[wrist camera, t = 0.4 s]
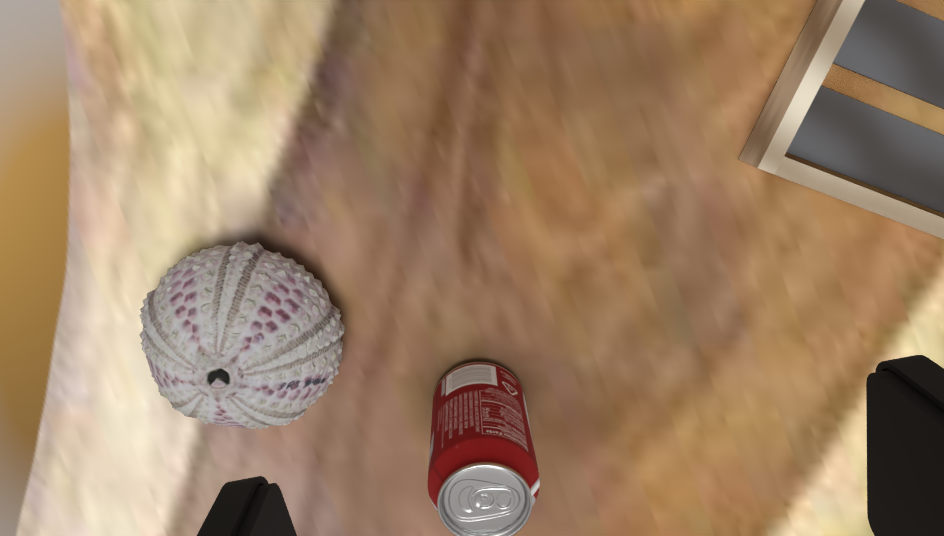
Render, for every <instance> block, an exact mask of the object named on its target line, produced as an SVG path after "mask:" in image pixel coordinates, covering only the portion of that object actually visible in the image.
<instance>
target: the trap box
mask: <svg viewBox="0 0 944 536" xmlns="http://www.w3.org/2000/svg"><path fill="white" fill-rule="evenodd" d="M832 63H834V64H836V65H838V66H841V67H843V68H846V69H848V70H850V71H853V72H855V73H858V74H860V75H863V76H865V77H867V78H870V79H872V80H875V81H877V82H880V83H882V84H884V85H887V86H889V87H892V88H894V89H897V90H899V91H901V92H904V93H906V94H909V95H911V96H914V97H916V98H918V99H921V100H923V101H926V102H928V103H930V104H933V105H935V106H938V107H940V108H943V109H944V21H942V20H939V19H937V18H935V17H932V16H930V15H928V14H925V13H923V12H921V11H919V10H916V9H914V8H912V7H909V6H907V5H905V4H902V3H900V2H898V1H895V0H817V2H816V4H815V6H814V8H813V10H812V12H811V14H810V16H809V18H808V20H807V22H806V24H805V26H804V28H803V30H802V32H801V34H800V36H799V38H798V40H797V42H796V44H795V46H794V48H793V50H792V52H791V54H790V56H789V58H788V60H787V62H786V64H785V66H784V68H783V71H782V73H781V75H780V77H779V79H778V81H777V83H776V85H775V87H774V89H773V91H772V93H771V95H770V97H769V99H768V101H767V103H766V105H765V107H764V109H763V111H762V113H761V115H760V117H759V119H758V121H757V123H756V125H755V127H754V129H753V131H752V133H751V135H750V137H749V139H748V141H747V143H746V145H745V147H744V149H743V151H742V153H741V155H740V157H739V160H741V161H743V162H746V163H748V164H750V165H752V166H754V167H756V168H759V169H761V170H764V171H767V172H769V173H772V174H775V175H777V176H780V177H782V178H785V179H788V180H790V181H793V182H796V183H798V184H801V185H803V186H806V187H809V188H811V189H814V190H816V191H819V192H822V193H824V194H827V195H830V196H832V197H835V198H837V199H840V200H843V201H845V202H848V203H850V204H853V205H856V206H858V207H861V208H864V209H866V210H869V211H871V212H874V213H877V214H879V215H882V216H885V217H887V218H890V219H892V220H895V221H898V222H900V223H903V224H905V225H908V226H911V227H913V228H916V229H919V230H921V231H924V232H926V233H929V234H932V235H934V236H937V237H940V238H942V239H944V218H942V217H939V216H937V215H934V214H932V213H929V212H926V211H924V210H921V209H919V208H916V207H913V206H911V205H908V204H906V203H903V202H901V201H898V200H895V199H893V198H890V197H888V196H885V195H882V194H880V193H877V192H875V191H872V190H870V189H867V188H864V187H862V186H859V185H857V184H854V183H851V182H849V181H846V180H844V179H841V178H839V177H836V176H833V175H831V174H828V173H826V172H823V171H820V170H818V169H815V168H813V167H810V166H807V165H805V164H802V163H800V162H797V161H795V160H792V159H789V158H787V157H784V155H785V153H786V152H787V153H790V154H792V155H795V156H797V157H800V158H802V159H805V160H808V161H810V162H813V163H815V164H818V165H821V166H823V167H826V168H828V169H831V170H833V171H836V172H839V173H841V174H844V175H846V176H849V177H851V178H854V179H857V180H859V181H862V182H864V183H867V184H869V185H872V186H875V187H877V188H880V189H882V190H885V191H888V192H890V193H893V194H895V195H898V196H900V197H903V198H906V199H908V200H911V201H913V202H916V203H918V204H921V205H924V206H926V207H929V208H931V209H934V210H936V211H939V212H942V213H944V135H941V134H939V133H936V132H934V131H931V130H929V129H926V128H924V127H922V126H919V125H917V124H914V123H912V122H909V121H907V120H904V119H902V118H899V117H897V116H894V115H892V114H890V113H887V112H885V111H882V110H880V109H877V108H875V107H872V106H870V105H867V104H865V103H862V102H860V101H858V100H855V99H853V98H850V97H848V96H845V95H843V94H840V93H838V92H835V91H833V90H830V89H828V88H826V87H823V86H821V84H822V82H823V80H824V78H825V76H826V74H827V72H828V71H829V69H830V67H831V65H832Z"/></svg>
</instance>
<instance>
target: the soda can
mask: <svg viewBox="0 0 944 536" xmlns="http://www.w3.org/2000/svg"><path fill="white" fill-rule="evenodd" d="M538 491H539V473H538V467H537V462H536V456H535V451H534V446H533V440H532V435H531V429H530V424H529V418H528V413H527V407H526V402H525V396H524V392H523V389H522V387H521V385H520V383H519V381H518V380H517V379H516V377H515V376H514V375H513V374H512V373H510V372H509V371H508V370H506V369H505V368H503V367H501V366H499V365H496V364H493V363H488V362H471V363H467V364H463V365H461V366H458V367H456V368H454V369H453V370H451V371H450V372H448V373H447V374H446V375H445V376H444V377H443V378H442V379H441V381H440V382H439V384H438V386H437V388H436V390H435V393H434V398H433V410H432V426H431V441H430V456H429V471H428V492H429V496H430V499H431V501H432V503H433V505H434V507H435V508H436V510H437V511H438V513H439V516H440V519H441V521H442V522H443V524H444V525H445V527H446V528H447V529H448V530H449V531H450V532H452V533H453V534H454V535H456V536H512V535H514V534H515V533H516V532H518V531H519V530H520V529H521V528H522V527H523V526H524V525H525V523H526V522H527V520H528V518H529V516H530V513H531V510H532V506H533V504H534V502H535V500H536V498H537V495H538Z"/></svg>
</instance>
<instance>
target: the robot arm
mask: <svg viewBox="0 0 944 536" xmlns="http://www.w3.org/2000/svg"><path fill="white" fill-rule="evenodd" d="M866 387H867V510H868V520H869V524H870V527H871V529H872V531H873V533H874V535H875V536H944V369H943V368H942V367H940V366H939V365H938V364H936V363H935V362H933V361H932V360H930V359H929V358H927V357H925V356H923V355H915V356H909V357H904V358H899V359H893V360H888V361H882V362H881V363H879V364H878V366H877V368H876V373H871V374H870V375H869V376H868V378H867V384H866ZM197 536H297V535H296V532H295V529H294V527H293V524H292V521H291V518H290V515H289V512H288V510H287V507H286V504H285V501H284V498H283V495H282V493H281V490H280V488H279V486H278V485H277V484H276V483H272V484H268V481H267V480H266V479H265V478H264V477H262V476H259V477H253V478H248V479H242V480H237V481H232V482H228V483H225V485H224V486H223V487H222V489H221V491H220V493H219V494H218V496H217V498H216V500H215V502H214V504H213V506H212V508H211V510H210V512H209V513H208V515H207V517H206V519H205V521H204V523H203V525H202V527H201V529H200V531H199V532H198V534H197Z"/></svg>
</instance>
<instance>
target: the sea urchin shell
mask: <svg viewBox="0 0 944 536" xmlns="http://www.w3.org/2000/svg"><path fill="white" fill-rule="evenodd" d="M143 303H144V307H142V308H141V309H140V310H141V312H142V314H140V317H141V319H142V321H141V322H142V324H143V327H144V328H143V331H142V332H141V334H140V337H141V338H142V340H143V341H142V343H141V344H142V345H143V347H142V350H143V351H144V352H145V353H146V358H147V360H148V363H149V367H150V370H151V372H152V377H153V378H154V379H155V380H154V381H155V382H156V383H157V384H158V386H159V392H160V395H162V396H164V397H165V398H167V399H168V400H169V401H170V403H171V404H172V408H174V409H175V410H178V411H180V412H182V413H183V414H184V415H185V416H188V417H193V418H198V419H199V420H200V421H201V422H202V423H203V424H208V423H214V424H216V425H221V426H222V425H223V426H231V427H242V428H250V429H255V428H258V429H260V430H261V429H262V428H268V427H269V426H270V425H271V426H277V425H285V424H287V425H289V423H290V422H291V421H292V420H298V419H299V417H300V416H303V415H304V413H305V410H306V408H308V407H309V405H312V404H314V403H315V402H316V401H317V398H319V396H322V395H323V393H325V392H326V391H327V388H328V384H333V379H334V376H335V375H337V374H338V373H339V372H338V366H339V365H340V364H339V362H340V361H341V360H342V355H341V352H342V347H343V342H342V341H340V339H341V337H342V335H343V333H344V330H345V326H344V325H343V324H342V323H343V322H342V321H341V320H340V316H341V315H340V314H339V313H340V309H338V308H336V307H334V306H333V305H332V304H331V302H330V300H329V296H328V293H327V290H325V289H324V288H323V287H322V283H321V281H319V280H317V279H315V278H314V277H313V274H311V273H309V272H307V271H305V268H304V265H298V264H296V262H295V261H294V260H293V259H287V258H285V257H283V256H282V255H281V254H280V252H279V253H272V252H270V251H267V250H265V249H264V248H263V247H262V245H260V244H259V243H256V244H253V245H248V244H246V243H245V242H243V241H242V242H239V241H238V242H237V243H236V244H235V245H233V246H222V245H217V246H215V247H214V248H208V249H202V250H201V251H200V252H199V253H192V254H191V256H187V257H186V258H183V259H182V260H180V261H179V263H178V264H176V265H174V267H173V268H170V269H168V273H167V275H166V276H164V277H161V279H160V284H159V285H158V287H157V288H156V289H155V290H153V291H151V292H149V293H147V298H146V299H144V300H143Z"/></svg>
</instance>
